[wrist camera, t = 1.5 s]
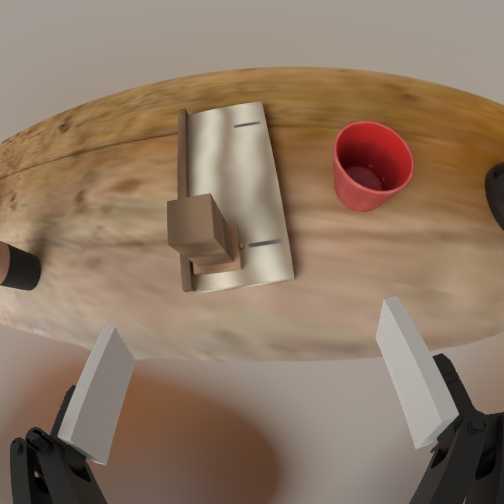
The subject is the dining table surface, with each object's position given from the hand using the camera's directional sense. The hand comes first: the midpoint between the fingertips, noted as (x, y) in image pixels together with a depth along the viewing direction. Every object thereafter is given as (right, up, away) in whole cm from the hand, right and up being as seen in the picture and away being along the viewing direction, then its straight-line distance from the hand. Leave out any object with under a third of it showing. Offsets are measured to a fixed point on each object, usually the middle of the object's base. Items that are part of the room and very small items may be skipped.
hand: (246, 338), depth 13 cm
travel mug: (-43, 0, +30) cm, 53 cm away
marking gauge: (-4, +4, +24) cm, 25 cm away
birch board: (-3, +14, +29) cm, 32 cm away
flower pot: (+16, +14, +27) cm, 34 cm away
